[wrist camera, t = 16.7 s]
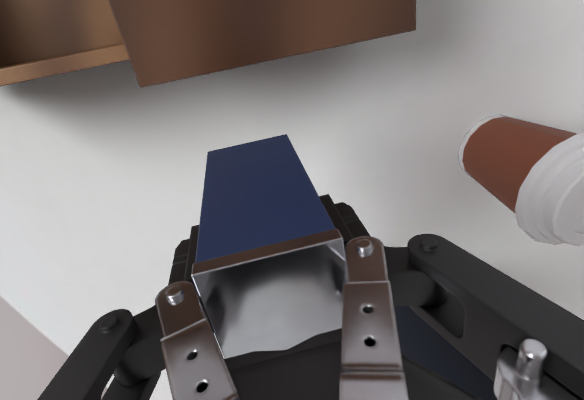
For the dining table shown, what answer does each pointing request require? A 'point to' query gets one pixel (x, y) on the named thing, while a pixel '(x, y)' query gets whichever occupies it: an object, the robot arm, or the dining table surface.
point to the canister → (266, 250)
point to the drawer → (56, 38)
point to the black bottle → (439, 354)
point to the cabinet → (245, 31)
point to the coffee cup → (530, 174)
